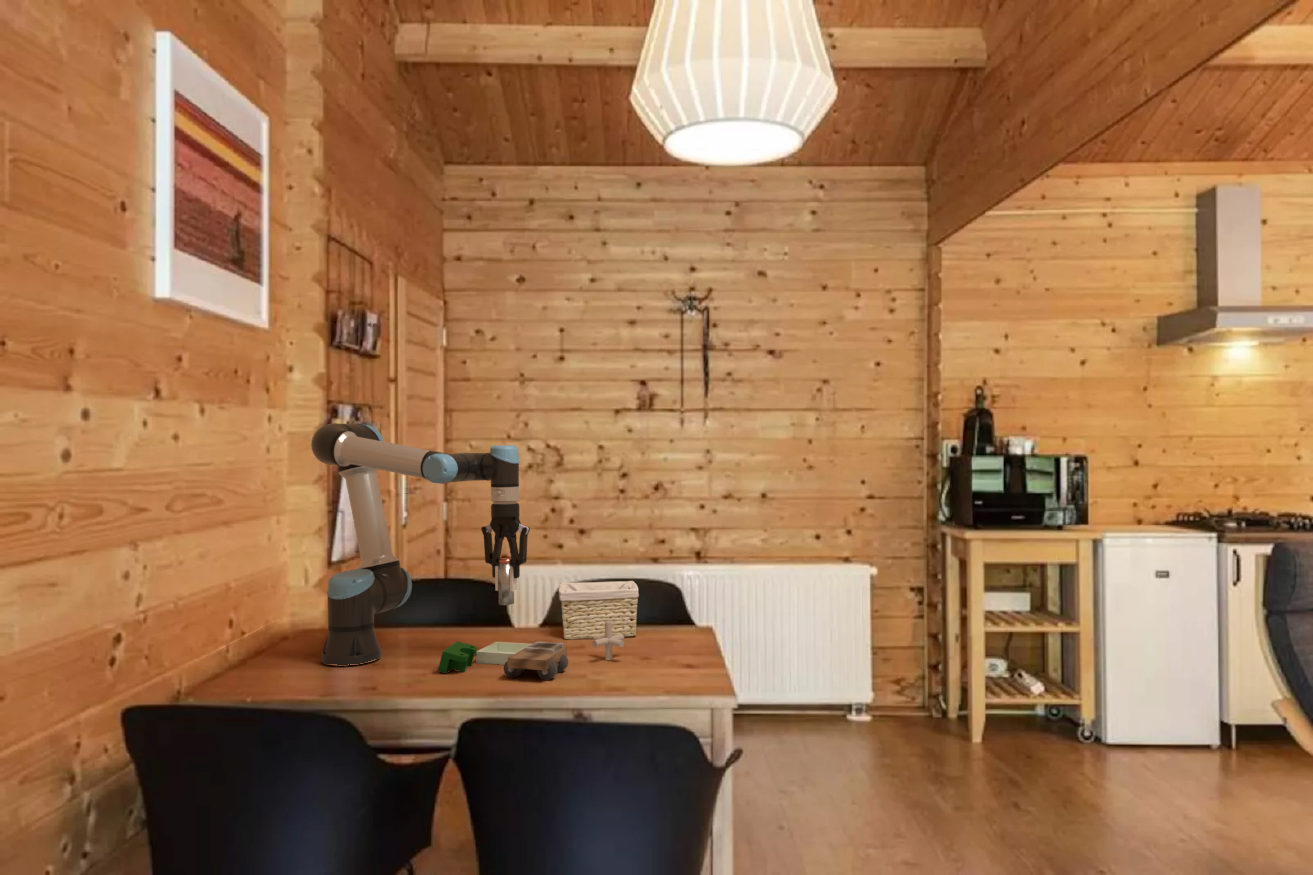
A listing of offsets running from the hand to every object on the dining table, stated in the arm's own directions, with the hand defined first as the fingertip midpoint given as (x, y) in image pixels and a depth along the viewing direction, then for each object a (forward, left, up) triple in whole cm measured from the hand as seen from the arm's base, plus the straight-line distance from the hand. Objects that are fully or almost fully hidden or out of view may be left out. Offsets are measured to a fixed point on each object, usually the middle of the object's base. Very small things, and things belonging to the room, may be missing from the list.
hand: (506, 589), depth 231 cm
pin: (0, 0, -4) cm, 4 cm away
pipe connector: (+27, +6, -19) cm, 33 cm away
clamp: (-8, -12, -19) cm, 24 cm away
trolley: (+14, -12, -18) cm, 26 cm away
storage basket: (+14, +35, -19) cm, 42 cm away
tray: (0, 0, -18) cm, 18 cm away
